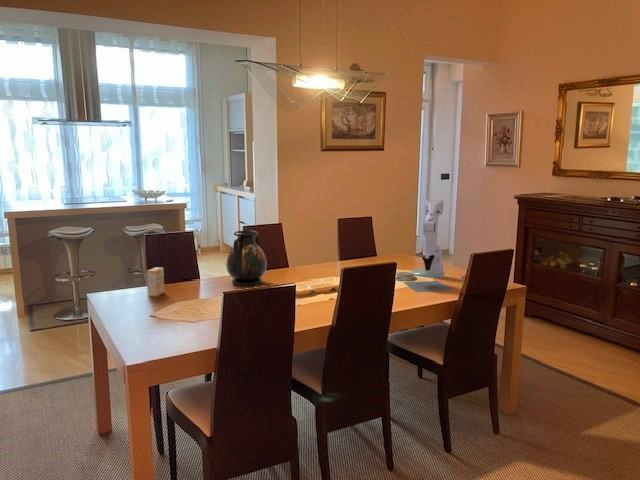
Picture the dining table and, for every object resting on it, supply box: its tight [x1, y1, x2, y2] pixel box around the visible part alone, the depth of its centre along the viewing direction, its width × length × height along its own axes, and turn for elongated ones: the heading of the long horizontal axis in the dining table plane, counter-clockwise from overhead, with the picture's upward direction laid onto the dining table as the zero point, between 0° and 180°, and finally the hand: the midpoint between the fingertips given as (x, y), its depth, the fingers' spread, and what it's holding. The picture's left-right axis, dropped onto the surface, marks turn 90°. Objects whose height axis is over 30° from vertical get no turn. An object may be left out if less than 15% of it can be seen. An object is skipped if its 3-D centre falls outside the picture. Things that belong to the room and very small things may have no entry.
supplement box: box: [146, 266, 165, 298], centre depth 252 cm, size 8×5×13 cm, turn 168°
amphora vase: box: [225, 230, 268, 287], centre depth 273 cm, size 22×22×28 cm
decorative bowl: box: [396, 271, 418, 282], centre depth 286 cm, size 15×4×15 cm
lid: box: [411, 267, 446, 278], centre depth 267 cm, size 17×17×6 cm
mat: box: [402, 280, 454, 293], centre depth 269 cm, size 20×20×1 cm
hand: (428, 269), depth 268 cm, fingers closed on lid, 3 cm apart
